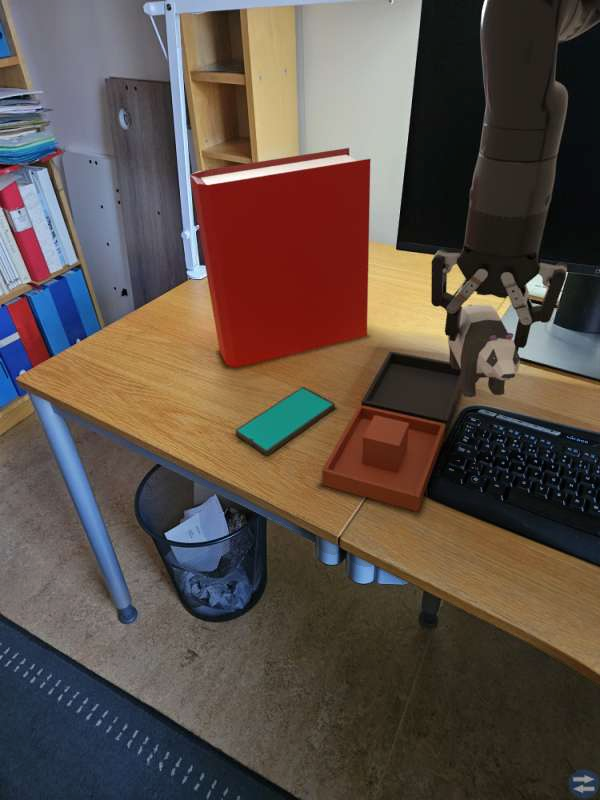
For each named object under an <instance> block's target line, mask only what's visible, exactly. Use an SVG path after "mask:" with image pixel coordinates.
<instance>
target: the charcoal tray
mask: <svg viewBox="0 0 600 800" xmlns="http://www.w3.org/2000/svg"><path fill="white" fill-rule="evenodd" d="M461 393H462V391H461V369H453V368H452V366H451V364H450V362H449V361H445V360H439V359H435V358H429V357H424V356H418V355H414V354H413V355H412V354H407V353H403V352H396V351H392V350H390V351H389V352H388V354H387V355H386V357H385V359H384V361H383V362H382V364H381V366H380V368H379V369H378V371H377V373H376V375H375V377H374V378H373V380H372V382H371V383H370V385H369V387H368V389H367V390H366V392H365V394H364V396H363V397H362V399H361V401H360V405H363V406H367V407H372V408H376V409H381V410H385V411H390V412H394V413H399V414H403V415H408V416H412V417H417V418H421V419H426V420H430V421H435V422H439V423H444V424H446V427H445V434H444V436H445V435H446V434H447V431H448V428H449V426H450V423H451V420H452V417H453V415H454V412H455V409H456V406H457V403H458V401H459V398H460V395H461Z"/></svg>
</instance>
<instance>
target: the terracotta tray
mask: <svg viewBox="0 0 600 800" xmlns="http://www.w3.org/2000/svg"><path fill="white" fill-rule="evenodd" d="M374 415H376V416H380V417H385V418H389V419H394V420H398V421H403V422H407V423H409V431H408V443H407V451H406V453H405V455H404V458H403V460H402V463H401V465H400V467H399V470H398V472H397V473H396V472H392V471H388V470H384V469H380V468H376V467H373V466H369V465H365V464H362V458H363V436H364V434H365V432H366V430H367V428H368V426H369V424H370V423H371V421H372V419H373V417H374ZM445 427H446V424H444V423H439V422H435V421H430V420H426V419H421V418H417V417H412V416H408V415H403V414H399V413H394V412H390V411H385V410H381V409H376V408H372V407H367V406H363V405H361V404H359V405H358V406H357V408H356V410H355V411H354V413H353V415H352V417H351V418H350V420H349V422H348V424H347V426H346V427H345V429H344V431H343V433H341V436H340V438H339V440H338V442H337V443H336V445H335V447H334V448H333V450H332V452H331V454H330V455H329V457H328V459H327V460H326V462H325V464H324V466H323V468H322V469H321V481H322V483H321V484H322V486H324V487H328V488H332V489H335V490H338V491H343V492H345V493H350V494H354V495H357V496H361V497H364V498H367V499H371V500H374V501H378V502H382V503H385V504H388V505H392V506H395V507H399V508H403V509H407V510H410V511H414V512H419V509H420V506H421V504H422V501H423V498H424V495H425V493H426V489H427V487H428V485H429V481H430V479H431V475H432V473H433V470H434V467H435V464H436V462H437V459H438V456H439V453H440V450H441V448H442V445H443V442H444V439H445V435H446V434H445ZM444 434H445V435H444Z"/></svg>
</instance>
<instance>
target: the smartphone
mask: <svg viewBox="0 0 600 800" xmlns="http://www.w3.org/2000/svg"><path fill="white" fill-rule="evenodd" d="M335 408H336V403H335V402H333V401H332V400H330V399H328V398H326V397H324V396H323V395H321V394H318V393H317V392H315V391H313V390H311V389H310V388H307V387H305V386H301V387H300V388H298V389H297V390H295V391H293V392H292V393H290V394H289V395H288V396H286V397H284V398H282V399H281V400H280V401H278V402H276V403H275V404H274V405H272V406H270V407H269V408H267V409H266V410H264V411H262V412H261V413H260V414H257V416H254V417H253V418H252V419H250V420H249V421H246V423H244V424H243V425H241V426H239V427H238V428H236V429H235V435H236V436H237V437H238V438H240V439H241V440H243V441H244V442H245V443H247V444H248V445H250V446H251V447H253V448H254V449H256V450H258V451H259V452H260V453H262V454H263V455H265V456H269V455H270V454H272V453H273V452H275V451H277V450H278V449H279V448H281V447H282V446H284V445H285V444H286V443H288V442H290V440H292V439H293V438H295V437H296V436H297V435H299V434H300V433H302V432H303V431H304V430H306V429H308V428H309V427H311V426H312V425H313V424H314V423H316V422H317V421H319V420H321V419H322V418H323V417H325V416H326V415H327V414H329V413H330V412H332V411H333V410H335Z"/></svg>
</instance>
